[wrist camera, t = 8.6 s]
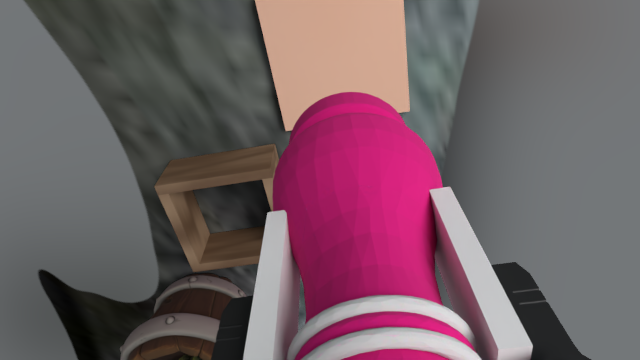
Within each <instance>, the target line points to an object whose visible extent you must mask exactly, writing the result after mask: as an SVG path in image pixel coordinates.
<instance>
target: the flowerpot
mask: <svg viewBox="0 0 640 360" xmlns="http://www.w3.org/2000/svg"><path fill="white" fill-rule="evenodd" d="M239 297H247V296H246V294H245V293H244V292H243V291H242V290H241V289H240V288H238V287H237V286H236V285H234V284H232V281H231V280H230V279H228V278H225V277H220V278H219V277H218V276H217V275H215V274H209V273H203V274H191V275H188V276H186V277H184V278H182V279H180V280H177V281H176V282H174V283H172V284H171V285H170V286H169V287H167V288H166V289H165V290H164V292H163V293H162V294H161V295H160V296H159V297H158V298H157V299H156V304H155V307H154V314H153V315H152V317H151V318H150V319H149V320H148V321H146V322H144V323H142V324H141V325H139V326H138V327H137V328H136V329H135V330H134V331H133V332H132V333H131V334H130V335H129V336H128V338H127V339H126V341H125V343H124V345H123V346H121V347H120V351H121V352H122V353H121V359H120V360H211V357H212V353H213V348H214V344H215V342H216V336H217V332H218V330H219V324H220V319H221V315H222V312H223V310H224V309H225V307H226V306H227V304H228V303H229V301H230V300H231V299H232V298H239Z"/></svg>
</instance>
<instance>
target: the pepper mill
mask: <svg viewBox="0 0 640 360" xmlns="http://www.w3.org/2000/svg"><path fill="white" fill-rule="evenodd" d="M438 188H443V186H442V181H441V177H440V174H439V171H438V168H437V165H436V162H435V159H434V157H433V155H432V153H431V151H430V149H429V148H428V147H427V145H426V144H425V143H424V141H423V140H422V139H421V138H420V137H419V136H418V135H417V134H416V133H415V132H413V131H412V130H411V129H409V128H408V127H407V126H406V125H405V123H404V121H403V119H402V117H401V116H400V115H399V113H398V112H397V111H396V110H395V109H394V108H393V107H392V106H391V105H390V104H388V103H387V102H385V101H383V100H382V99H380V98H378V97H375V96H373V95H370V94H367V93H361V92H342V93H337V94H333V95H330V96H327V97H324V98H322V99H320V100H318V101H317V102H315V103H314V104H312V105H311V106H310V107H309V108H307V109H306V110H305V111H304V112H303V113H302V115H301V116H300V117H299V118H298V120H297V122H296V123H295V125H294V127H293V130H292V132H291V136H290V141H289V145H288V147H287V148H286V149H285V151H284V152H283V154H282V156H281V158H280V160H279V162H278V165H277V167H276V170H275V174H274V179H273V196H272V198H273V212H274V211H281V210H285V212H286V213H287V221H288V231H289V238H290V245H291V251H292V254H293V258H294V260H295V262H296V264H297V266H298V268H299V270H300V274H301V278H302V281H303V285H304V295H305V306H306V322H305V325H304V326H303V327H302V328H301V329H300V330H299V331H298V333H297V334H296V335H295V337H294V338H293V340H292V342H291V345H290V347H289V349H288V355H287V360H482V359H481V358H480V357H479V355H478V345H477V341H476V338H475V336H474V334H473V332H472V331H471V329H470V327H469V326H468V324H467V323H466V322H465V321H464V320H463V319H462V318H461V317H460V316H459V315H458V314H456V313H455V312H453V311H451V310H450V309H448V308H446V307H444V306H443V304H442V301H441V297H440V293H439V289H438V285H437V281H436V277H435V251H436V245H437V236H436V227H435V219H434V212H433V207H432V202H431V196H430V190H431V189H438Z"/></svg>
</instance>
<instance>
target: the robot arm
mask: <svg viewBox="0 0 640 360" xmlns="http://www.w3.org/2000/svg"><path fill="white" fill-rule="evenodd" d="M430 196H431V202H432V207H433V212H434V219H435V227H436V236H437V245H436V251H435V260H436V263H437V265H438V268H439V271H440V274H441V276H442V279H443V282H444V285H445V287H446V290H447V293H448V296H449V298H450V301H451V304H452V307H453V309H454V312H455V313H456V314H458V315H459V316H460V317H461V318H462V319H463V320H464V321H465V322H466V323H467V324H468V326H469V327H470V329H471V331H472V332H473V334H474V336H475V338H476V341H477V345H478V355H479V357H480V358H481V359H482V360H591V359H589V358H587V357H586V356H584V355H582V354H581V353H580V352H579V351H578V349H577V348H576V347H575V345H574V344H573V342H572V341H571V339H570V337H569V336H568V334H567V333H566V331H565V329H564V328H563V326H562V325H561V323H560V321H559V320H558V318H557V316H556V315H555V313H554V312H553V310H552V308H551V307H550V305H549V304H548V303H547V302H546V299H545V297H544V296H543V294H542V292H541V291H539V287H538V286H537V284H536V283H535V281H534V279H533V278H532V276H531V275H530V273H528V272H527V271H526V270H525V269H523V268H522V267H521V266H519V265H518V264H517V263H516V262H512V263H504V264H496V265H491V264H490V262H489V261H488V259H487V257H486V255H485V253H484V251H483V249H482V247H481V245H480V243H479V241H478V239H477V237H476V236H475V234H474V232H473V230H472V228H471V226H470V224H469V222H468V220H467V219H466V216H465V214H464V213H463V211H462V209H461V207H460V205H459V203H458V201H457V199H456V197H455V195H454V193H453V191H452V190H451V188H450V187H445V188H438V189H431V190H430ZM299 293H300V270H299V268H298V266H297V264H296V262H295V260H294V258H293V254H292V251H291V245H290V238H289V231H288V221H287V213H286V212H285V210H281V211H274V212H267V218H266V224H265V230H264V236H263V242H262V248H261V254H260V260H259V266H258V272H257V278H256V284H255V290H254V296H247V297H239V298H232V299H231V300H230V301H229V303H228V304H227V306H226V307H225V309H224V310H223V312H222V315H221V319H220V324H219V330H218V332H217V336H216V342H215V344H214V348H213V353H212V357H211V360H287V355H288V349H289V347H290V345H291V342H292V340H293V338H294V337H295V335H296V334H297V333H298V317H299Z"/></svg>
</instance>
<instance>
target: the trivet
mask: <svg viewBox="0 0 640 360" xmlns="http://www.w3.org/2000/svg"><path fill="white" fill-rule="evenodd" d="M255 3H256V7H257V11H258V15H259V20H260V24H261V28H262V32H263V37H264V41H265V45H266V49H267V54H268V58H269V62H270V66H271V71H272V75H273V79H274V83H275V88H276V92H277V96H278V100H279V105H280V109H281V113H282V117H283V122H284V126H285V130H286V131H291V130H293V127H294V125H295V123H296V122H297V120H298V118H299V117H300V116H301V115H302V113H303V112H304V111H305V110H306V109H307V108H309V107H310V106H311V105H312V104H314V103H315V102H317V101H318V100H320V99H322V98H324V97H327V96H330V95H333V94H337V93H342V92H361V93H367V94H370V95H373V96H375V97H378V98H380V99H382V100H383V101H385V102H387V103H388V104H390V105H391V106H392V107H393V108H394V109H395V110H396V111H397V112H398V113H402V112H408V111H410V106H409V88H408V71H407V53H406V36H405V18H404V1H403V0H255Z"/></svg>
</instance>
